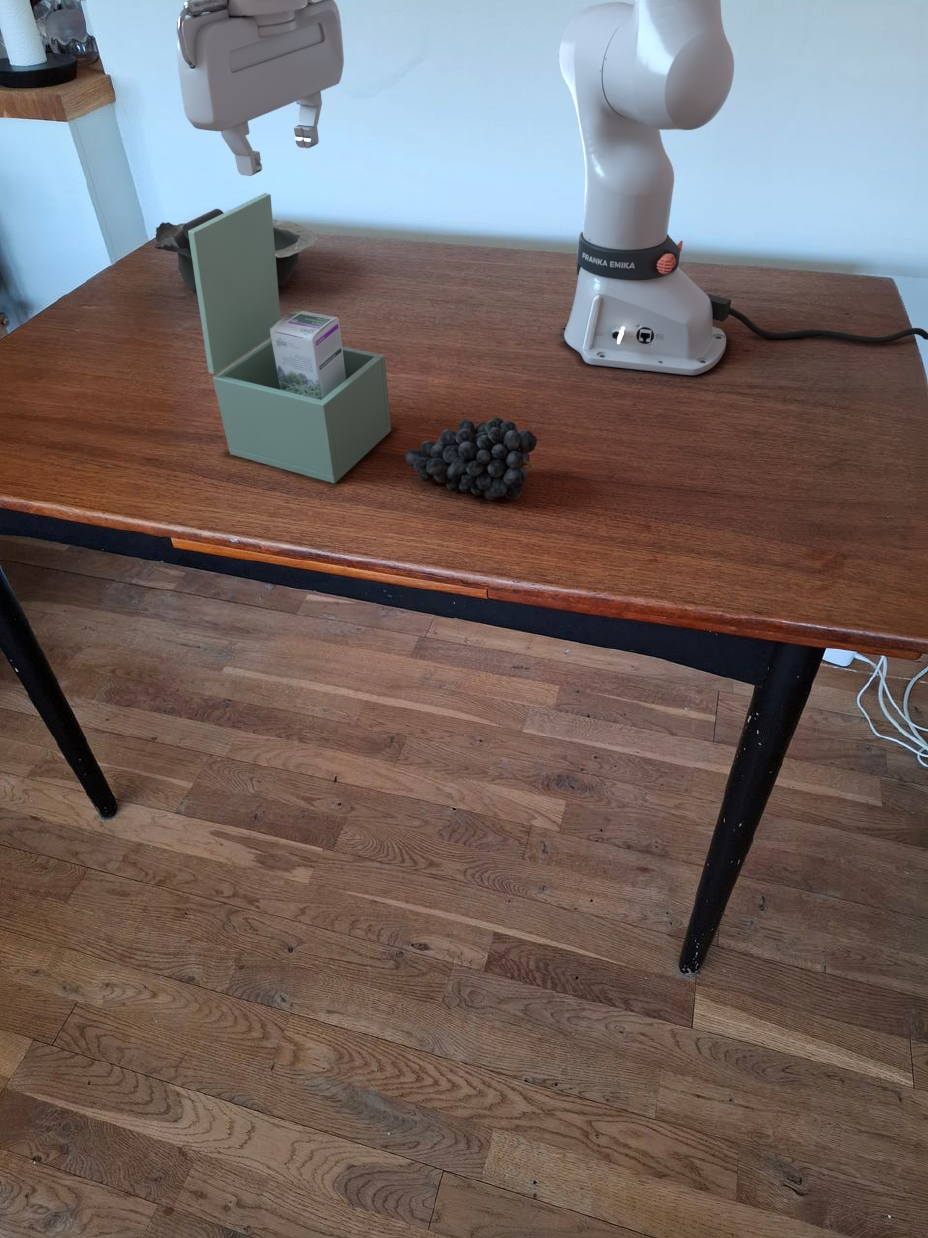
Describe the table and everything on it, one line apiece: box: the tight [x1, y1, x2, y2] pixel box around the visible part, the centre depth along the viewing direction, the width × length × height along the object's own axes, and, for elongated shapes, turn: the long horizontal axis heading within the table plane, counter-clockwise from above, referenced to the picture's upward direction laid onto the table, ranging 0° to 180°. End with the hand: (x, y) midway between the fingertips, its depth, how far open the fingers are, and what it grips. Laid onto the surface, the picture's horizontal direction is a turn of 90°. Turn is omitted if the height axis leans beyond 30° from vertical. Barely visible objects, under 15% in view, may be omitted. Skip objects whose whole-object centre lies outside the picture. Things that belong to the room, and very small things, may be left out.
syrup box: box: [270, 309, 346, 400], centre depth 101 cm, size 6×6×14 cm
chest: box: [212, 337, 392, 484], centre depth 104 cm, size 15×13×10 cm
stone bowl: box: [153, 218, 319, 294], centre depth 142 cm, size 25×25×9 cm
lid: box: [182, 192, 281, 375], centre depth 98 cm, size 16×13×5 cm
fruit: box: [405, 416, 538, 501], centre depth 97 cm, size 9×8×15 cm
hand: (280, 159), depth 85 cm, fingers open, 8 cm apart
